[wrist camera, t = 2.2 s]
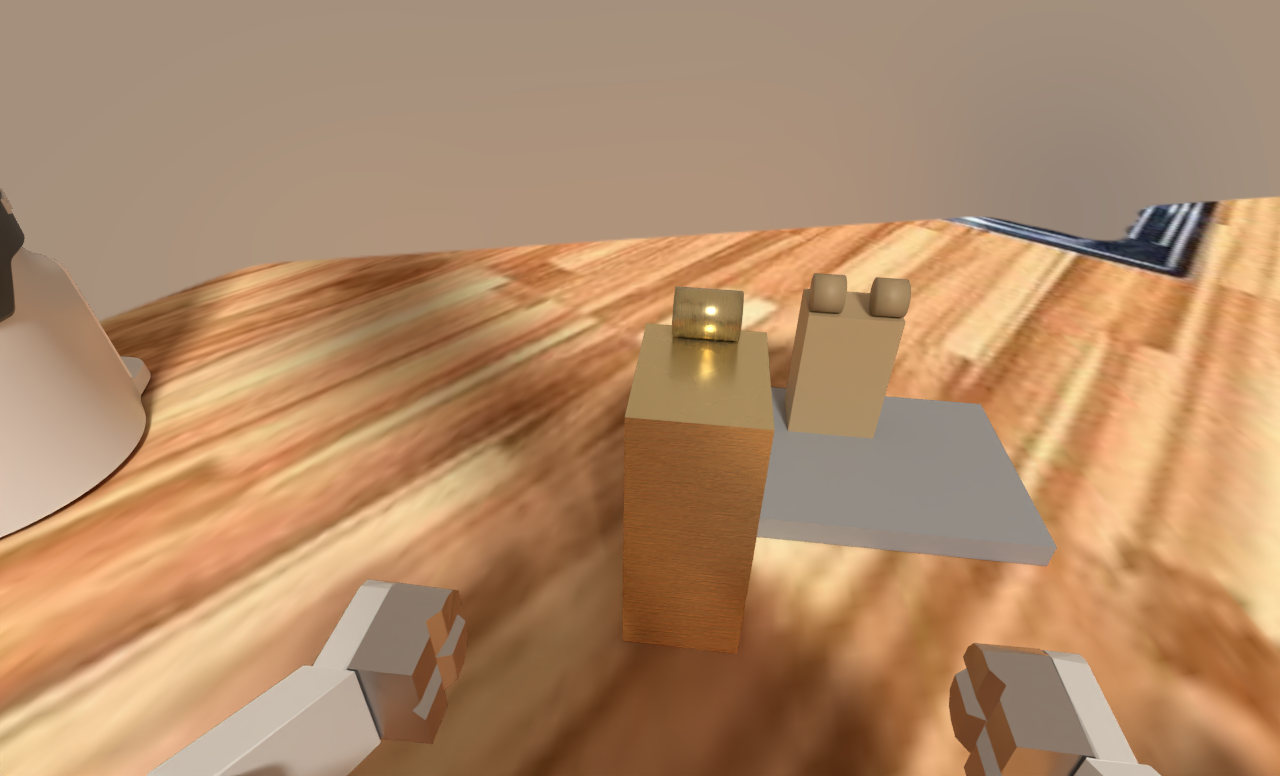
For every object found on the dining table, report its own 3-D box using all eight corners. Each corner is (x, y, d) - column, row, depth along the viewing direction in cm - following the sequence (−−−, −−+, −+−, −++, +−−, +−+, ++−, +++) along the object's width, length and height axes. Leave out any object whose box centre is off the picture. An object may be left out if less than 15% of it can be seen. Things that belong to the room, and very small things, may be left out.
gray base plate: (649, 525, 31) (656, 342, 26) (668, 395, 41) (676, 238, 35) (1047, 566, 30) (1146, 380, 24) (974, 420, 39) (1034, 261, 33)
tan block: (622, 640, 26) (625, 366, 19) (641, 525, 31) (648, 276, 24) (736, 653, 26) (783, 379, 19) (736, 534, 31) (772, 284, 24)
